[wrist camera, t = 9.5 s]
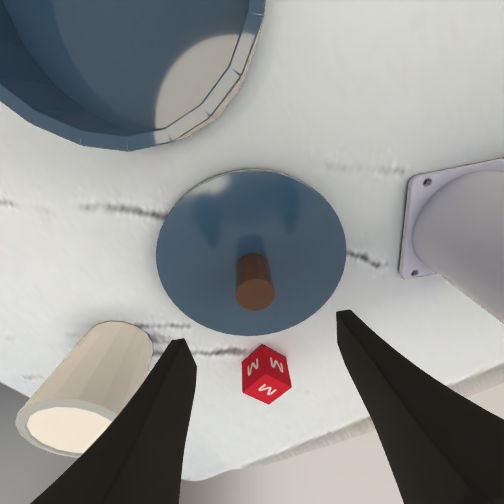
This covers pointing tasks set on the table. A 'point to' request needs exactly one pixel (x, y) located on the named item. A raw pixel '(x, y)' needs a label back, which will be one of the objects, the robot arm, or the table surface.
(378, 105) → the table surface
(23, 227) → the table surface
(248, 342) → the table surface
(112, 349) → the beige cup
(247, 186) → the lid
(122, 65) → the bowl
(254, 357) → the red letter cube
